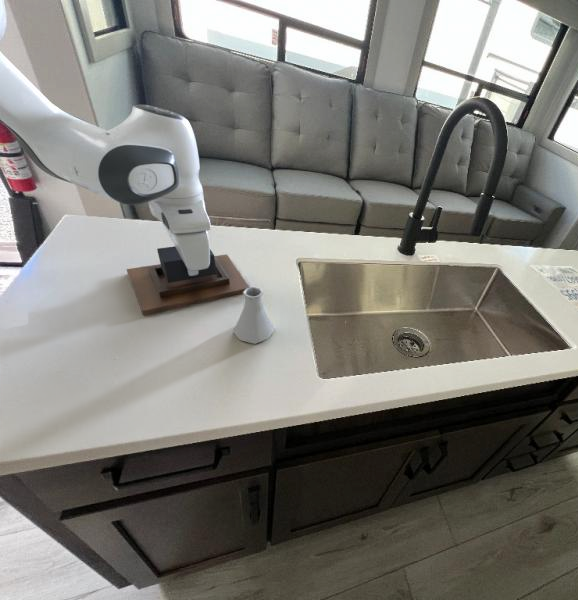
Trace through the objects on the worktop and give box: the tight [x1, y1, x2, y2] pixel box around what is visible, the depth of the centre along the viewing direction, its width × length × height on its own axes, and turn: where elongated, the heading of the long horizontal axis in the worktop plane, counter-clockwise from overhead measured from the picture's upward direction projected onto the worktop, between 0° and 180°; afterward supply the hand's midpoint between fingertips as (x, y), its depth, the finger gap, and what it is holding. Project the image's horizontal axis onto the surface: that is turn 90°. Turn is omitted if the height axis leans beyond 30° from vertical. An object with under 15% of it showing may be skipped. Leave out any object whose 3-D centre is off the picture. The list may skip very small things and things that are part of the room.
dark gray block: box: [156, 246, 216, 283], centre depth 69 cm, size 9×6×5 cm, turn 130°
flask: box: [232, 286, 276, 345], centre depth 63 cm, size 7×7×10 cm
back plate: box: [126, 253, 251, 316], centre depth 72 cm, size 20×15×3 cm
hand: (188, 265), depth 70 cm, fingers closed on dark gray block, 5 cm apart
